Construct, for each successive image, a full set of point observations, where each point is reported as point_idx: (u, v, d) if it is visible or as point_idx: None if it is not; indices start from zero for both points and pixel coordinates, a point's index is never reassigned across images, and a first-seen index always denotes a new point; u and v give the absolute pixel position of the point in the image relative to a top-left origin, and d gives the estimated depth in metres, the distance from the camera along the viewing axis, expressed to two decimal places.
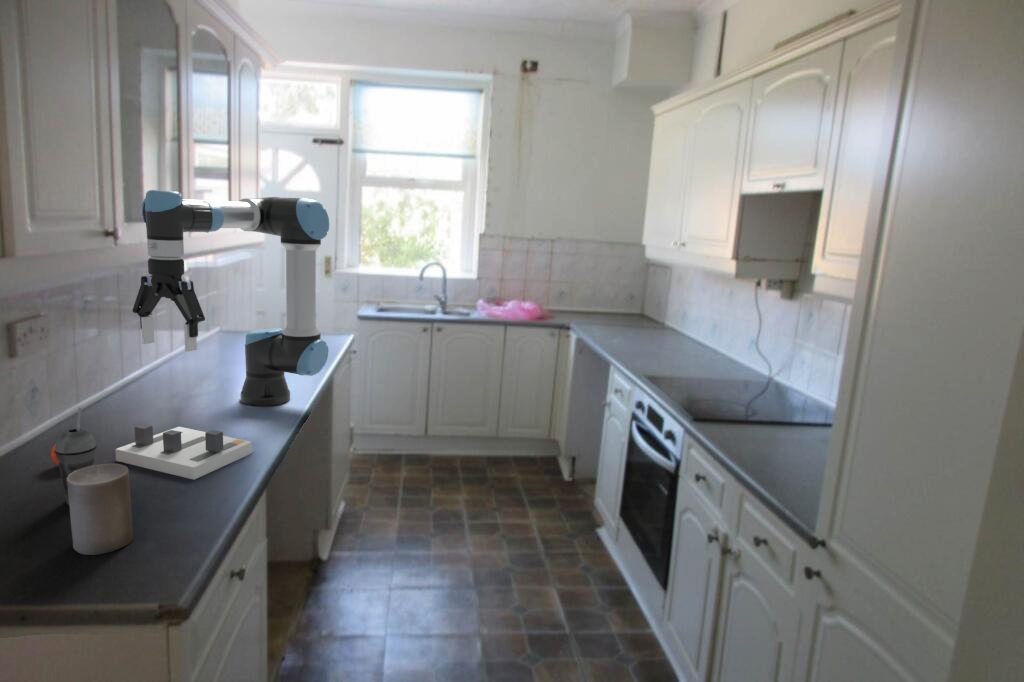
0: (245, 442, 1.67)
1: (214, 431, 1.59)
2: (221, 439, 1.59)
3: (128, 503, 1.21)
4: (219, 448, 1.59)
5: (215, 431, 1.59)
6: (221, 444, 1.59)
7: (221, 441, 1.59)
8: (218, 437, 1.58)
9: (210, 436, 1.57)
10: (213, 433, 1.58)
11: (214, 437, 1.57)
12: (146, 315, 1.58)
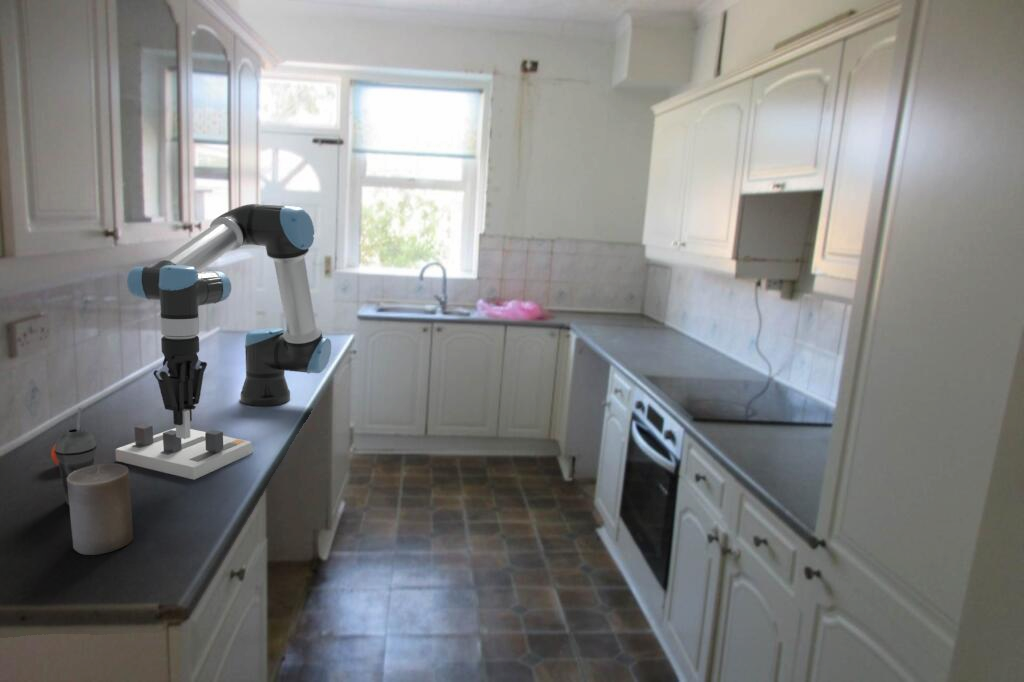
0: (245, 442, 1.67)
1: (214, 431, 1.59)
2: (221, 439, 1.59)
3: (128, 503, 1.21)
4: (219, 448, 1.59)
5: (215, 431, 1.59)
6: (221, 444, 1.59)
7: (221, 441, 1.59)
8: (218, 437, 1.58)
9: (210, 436, 1.57)
10: (213, 433, 1.58)
11: (214, 437, 1.57)
12: (184, 406, 1.49)
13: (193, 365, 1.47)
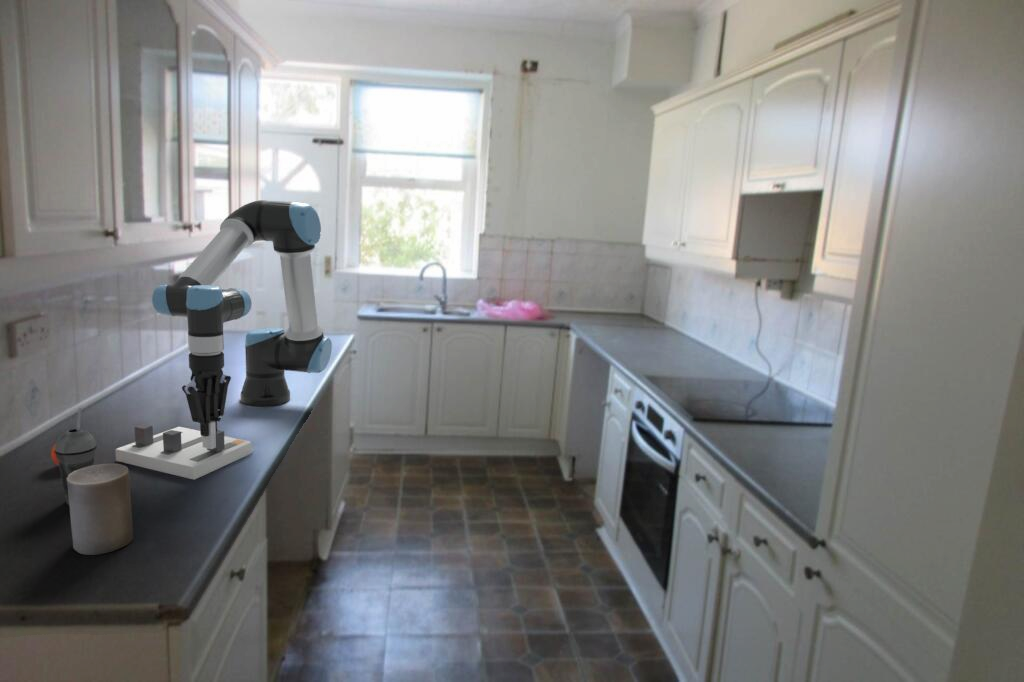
0: (245, 442, 1.67)
1: None
2: (222, 439, 1.59)
3: (128, 503, 1.21)
4: (220, 447, 1.59)
5: None
6: (222, 444, 1.60)
7: (222, 441, 1.60)
8: (219, 437, 1.58)
9: None
10: None
11: None
12: (210, 418, 1.57)
13: (218, 379, 1.55)
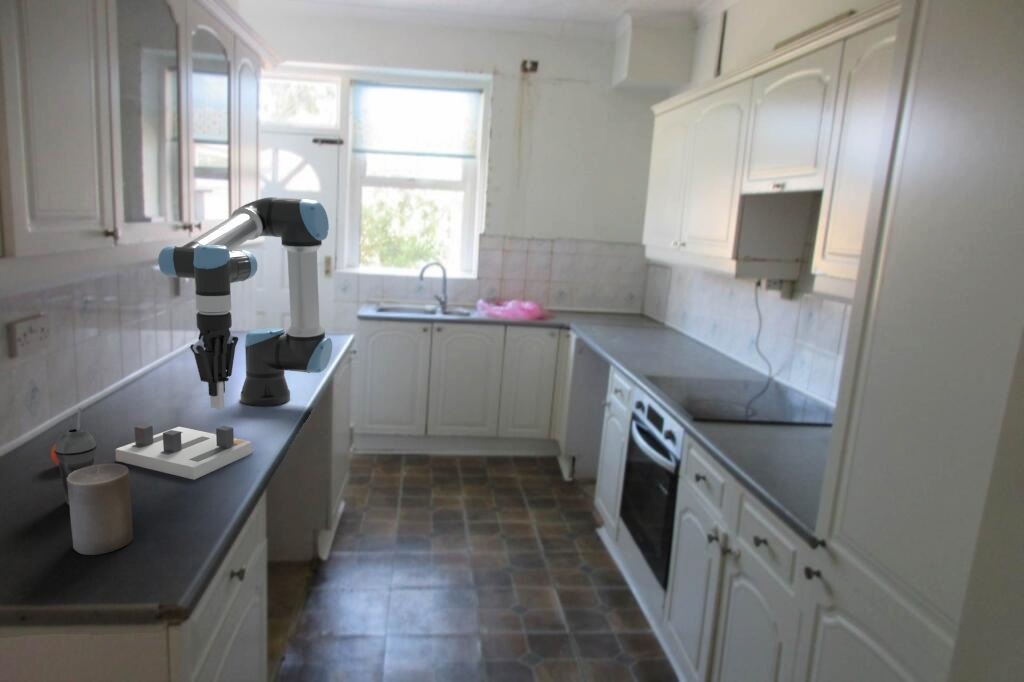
0: (245, 442, 1.67)
1: (225, 427, 1.62)
2: (231, 435, 1.62)
3: (128, 503, 1.21)
4: (230, 444, 1.62)
5: (226, 427, 1.62)
6: (231, 440, 1.62)
7: (231, 437, 1.62)
8: (228, 433, 1.61)
9: (221, 431, 1.61)
10: (224, 429, 1.61)
11: (225, 432, 1.60)
12: (218, 378, 1.58)
13: (226, 339, 1.56)
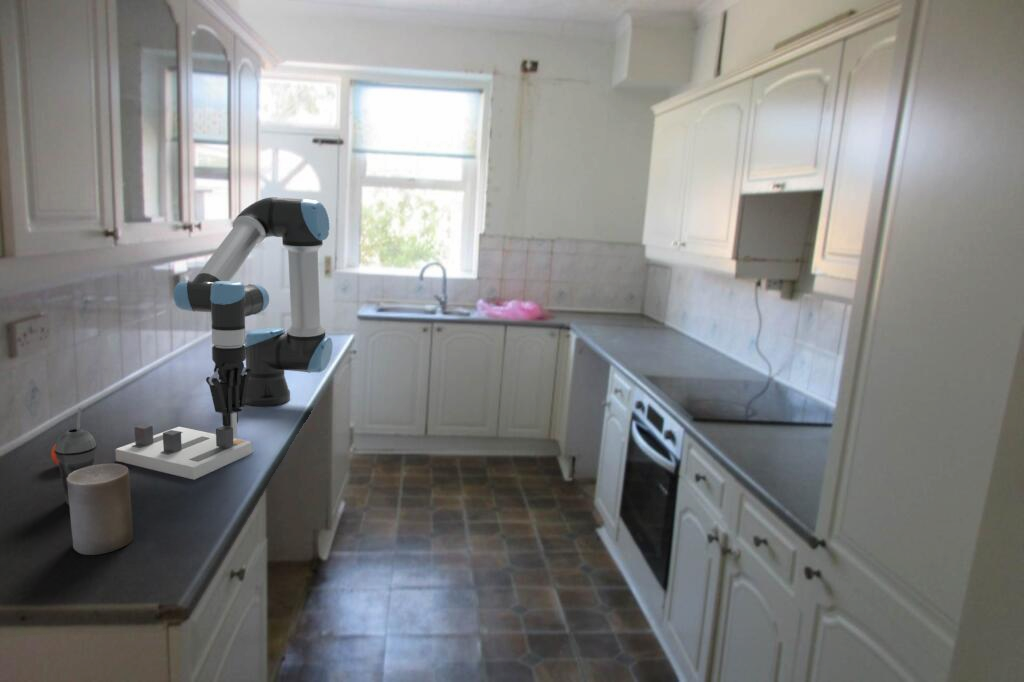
0: (245, 442, 1.67)
1: (224, 427, 1.62)
2: (231, 435, 1.62)
3: (128, 503, 1.21)
4: (229, 444, 1.62)
5: (225, 427, 1.62)
6: (231, 440, 1.62)
7: (231, 437, 1.62)
8: (228, 433, 1.61)
9: (221, 432, 1.61)
10: (224, 429, 1.61)
11: (224, 432, 1.60)
12: (231, 408, 1.63)
13: (240, 372, 1.62)
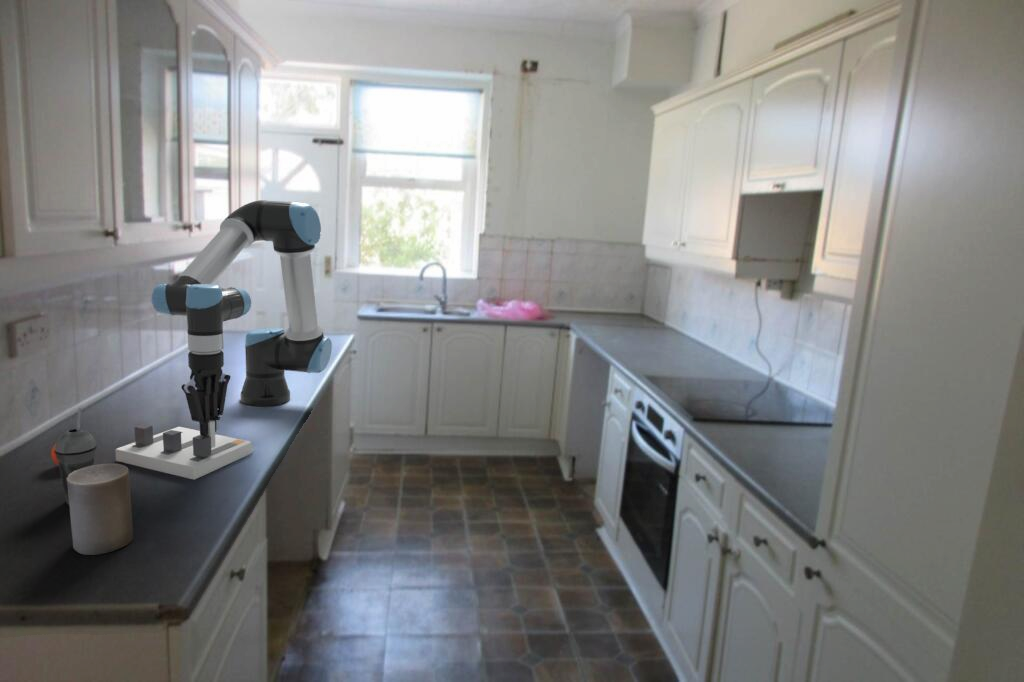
0: (245, 442, 1.67)
1: (202, 436, 1.55)
2: (209, 444, 1.55)
3: (128, 503, 1.21)
4: (207, 453, 1.55)
5: (203, 436, 1.56)
6: (209, 449, 1.56)
7: (209, 446, 1.56)
8: (205, 442, 1.54)
9: (198, 441, 1.54)
10: (201, 437, 1.54)
11: (202, 441, 1.54)
12: (209, 417, 1.56)
13: (218, 378, 1.55)
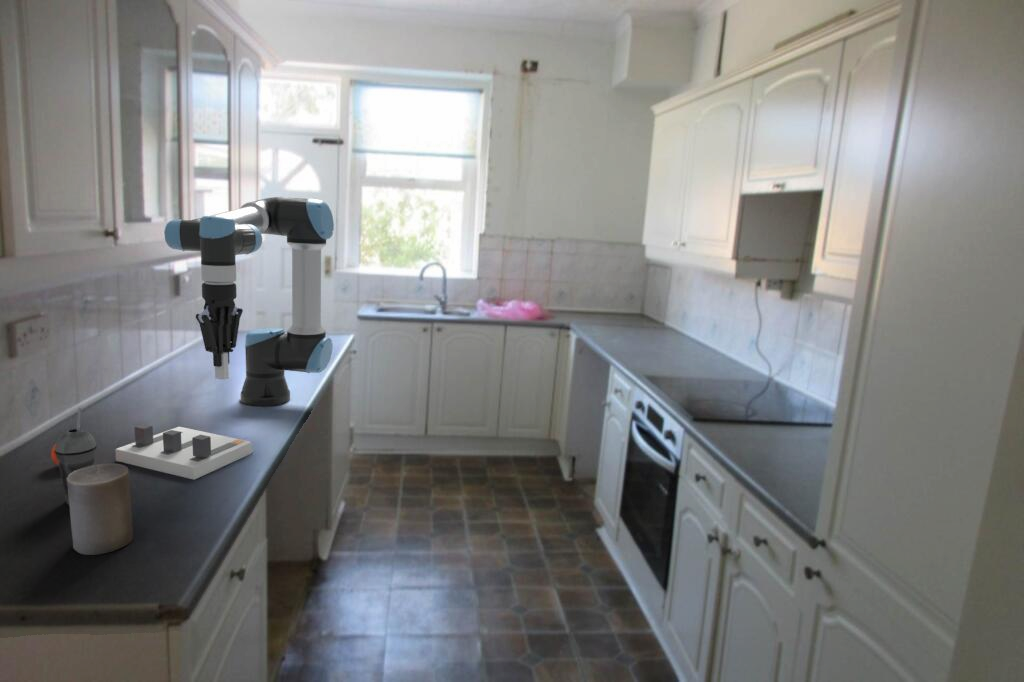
0: (245, 442, 1.67)
1: (202, 436, 1.55)
2: (209, 444, 1.55)
3: (128, 503, 1.21)
4: (206, 453, 1.55)
5: (202, 436, 1.55)
6: (208, 449, 1.56)
7: (209, 446, 1.55)
8: (205, 442, 1.54)
9: (198, 441, 1.54)
10: (200, 438, 1.54)
11: (201, 442, 1.53)
12: (222, 349, 1.59)
13: (231, 310, 1.57)
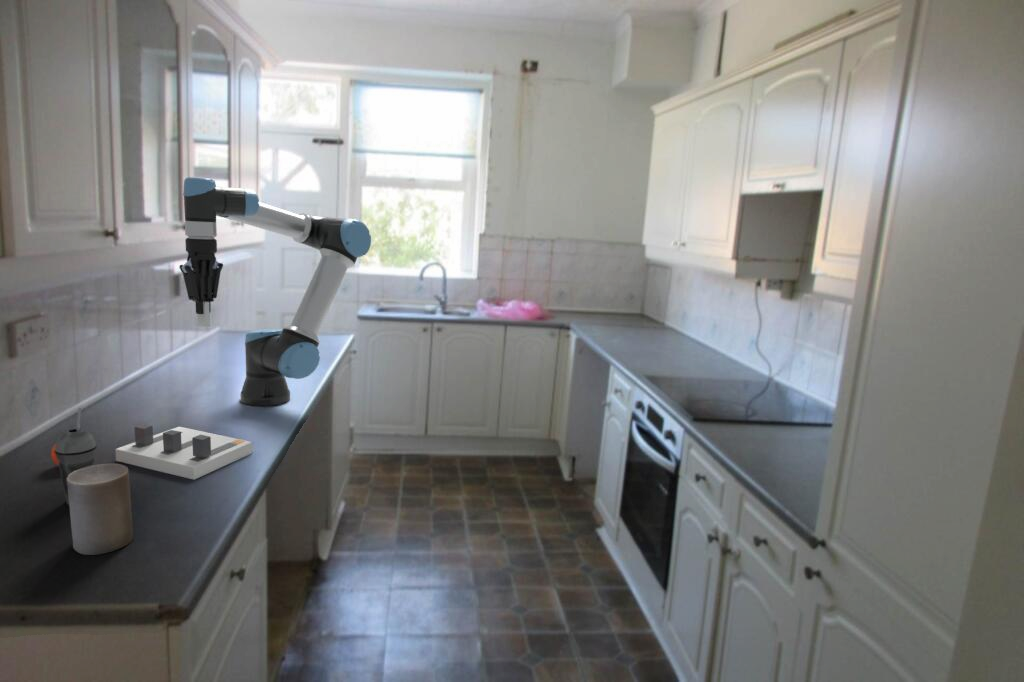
0: (245, 442, 1.67)
1: (202, 436, 1.55)
2: (209, 444, 1.55)
3: (128, 503, 1.21)
4: (206, 453, 1.55)
5: (202, 436, 1.55)
6: (208, 449, 1.56)
7: (209, 446, 1.55)
8: (205, 442, 1.54)
9: (198, 441, 1.54)
10: (200, 438, 1.54)
11: (201, 442, 1.53)
12: (204, 298, 1.76)
13: (212, 263, 1.75)
